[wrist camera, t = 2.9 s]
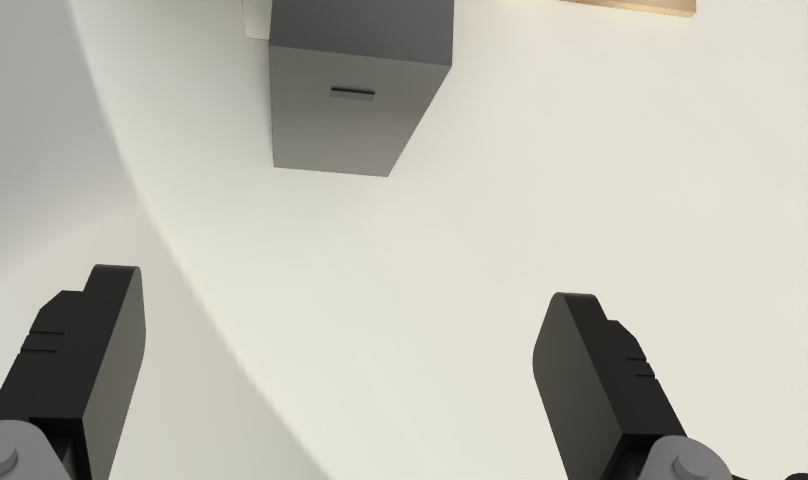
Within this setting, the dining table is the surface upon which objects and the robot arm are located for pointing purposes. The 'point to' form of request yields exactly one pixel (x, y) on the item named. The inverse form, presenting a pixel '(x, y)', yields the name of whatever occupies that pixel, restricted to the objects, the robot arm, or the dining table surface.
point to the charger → (354, 79)
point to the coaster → (649, 6)
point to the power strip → (257, 18)
